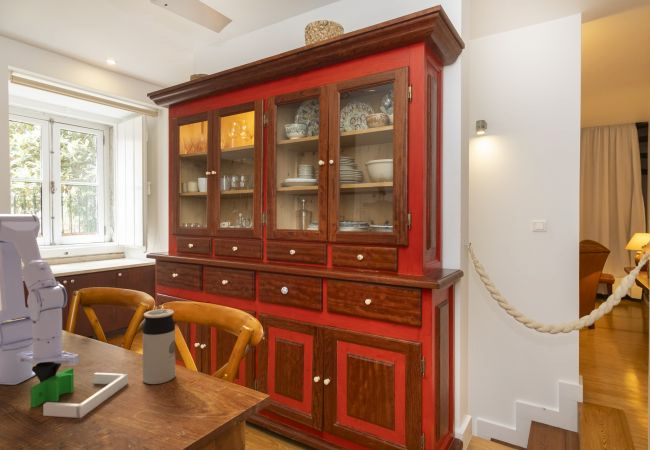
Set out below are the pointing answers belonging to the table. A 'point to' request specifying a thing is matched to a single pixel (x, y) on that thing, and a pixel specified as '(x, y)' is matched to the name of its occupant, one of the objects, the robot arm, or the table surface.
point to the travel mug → (158, 346)
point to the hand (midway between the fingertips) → (47, 391)
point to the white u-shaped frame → (82, 409)
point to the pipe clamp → (52, 388)
